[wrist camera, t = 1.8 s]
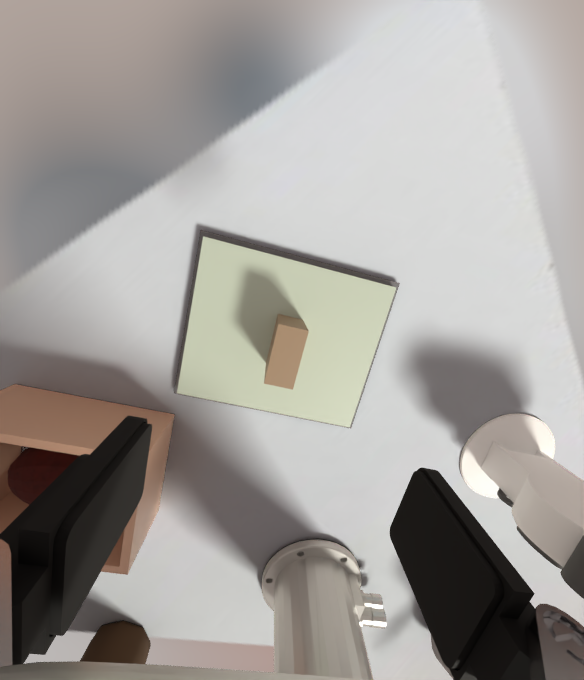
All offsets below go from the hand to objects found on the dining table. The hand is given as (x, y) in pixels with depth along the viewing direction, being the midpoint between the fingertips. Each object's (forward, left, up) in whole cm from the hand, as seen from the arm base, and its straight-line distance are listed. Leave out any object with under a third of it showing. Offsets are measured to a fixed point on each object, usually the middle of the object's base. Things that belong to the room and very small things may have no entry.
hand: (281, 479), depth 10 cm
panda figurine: (-30, +8, -19) cm, 36 cm away
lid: (-1, 0, -19) cm, 19 cm away
